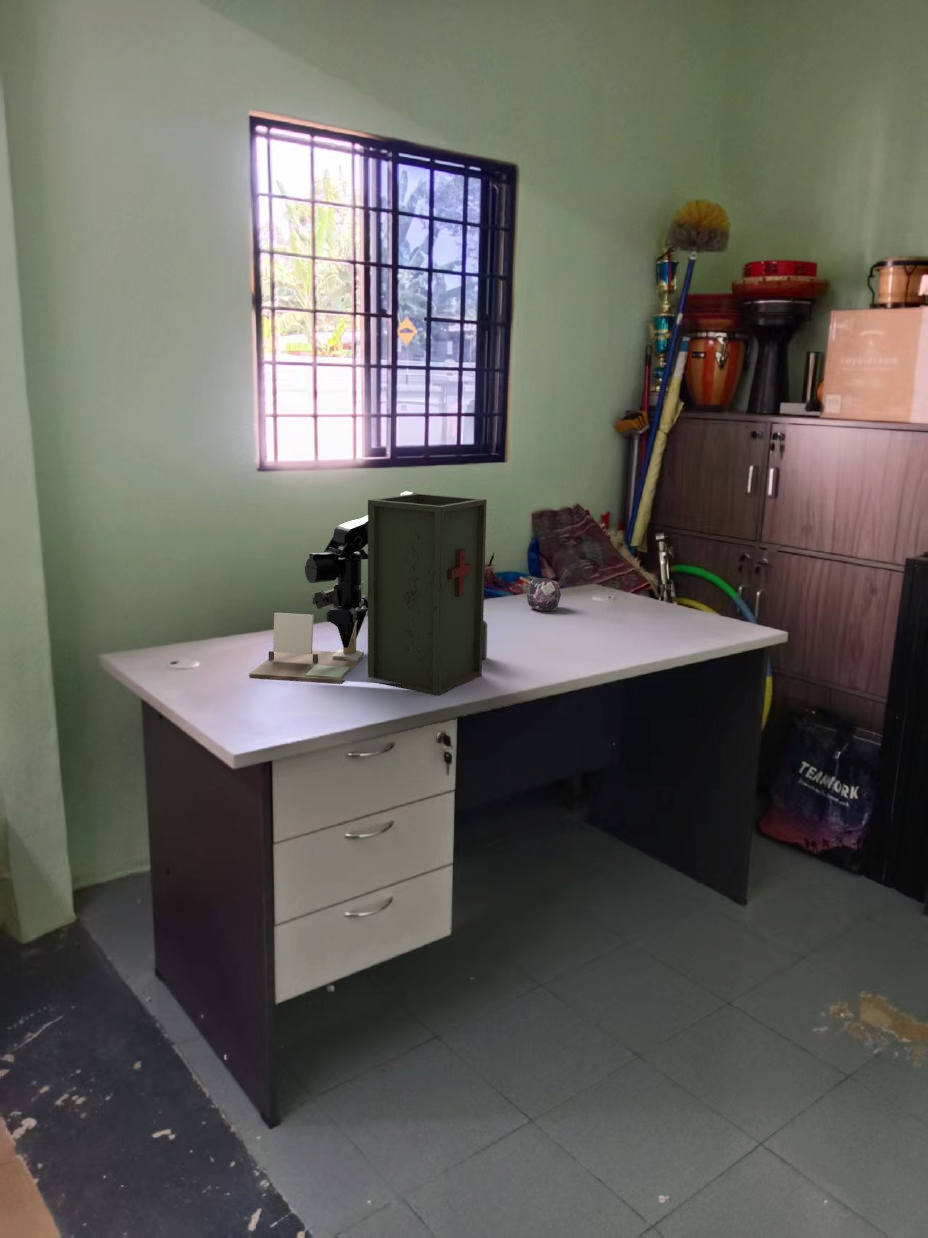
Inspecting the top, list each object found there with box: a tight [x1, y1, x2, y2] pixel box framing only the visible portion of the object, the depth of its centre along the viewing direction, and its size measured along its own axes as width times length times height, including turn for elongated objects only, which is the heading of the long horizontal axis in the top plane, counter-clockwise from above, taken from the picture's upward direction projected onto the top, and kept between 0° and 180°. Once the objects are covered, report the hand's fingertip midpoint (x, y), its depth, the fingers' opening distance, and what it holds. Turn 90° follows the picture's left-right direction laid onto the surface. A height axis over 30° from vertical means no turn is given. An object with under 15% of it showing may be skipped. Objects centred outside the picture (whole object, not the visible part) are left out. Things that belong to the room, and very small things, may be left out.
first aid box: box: [367, 492, 488, 697], centre depth 215 cm, size 18×18×40 cm
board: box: [248, 649, 367, 685], centre depth 225 cm, size 21×22×3 cm
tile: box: [272, 612, 315, 654], centre depth 226 cm, size 9×9×1 cm
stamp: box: [332, 627, 365, 661], centre depth 230 cm, size 6×6×8 cm
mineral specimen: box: [526, 577, 562, 612], centre depth 290 cm, size 10×10×10 cm
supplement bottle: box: [482, 614, 488, 661], centre depth 235 cm, size 7×7×12 cm
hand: (349, 643), depth 232 cm, fingers open, 7 cm apart
